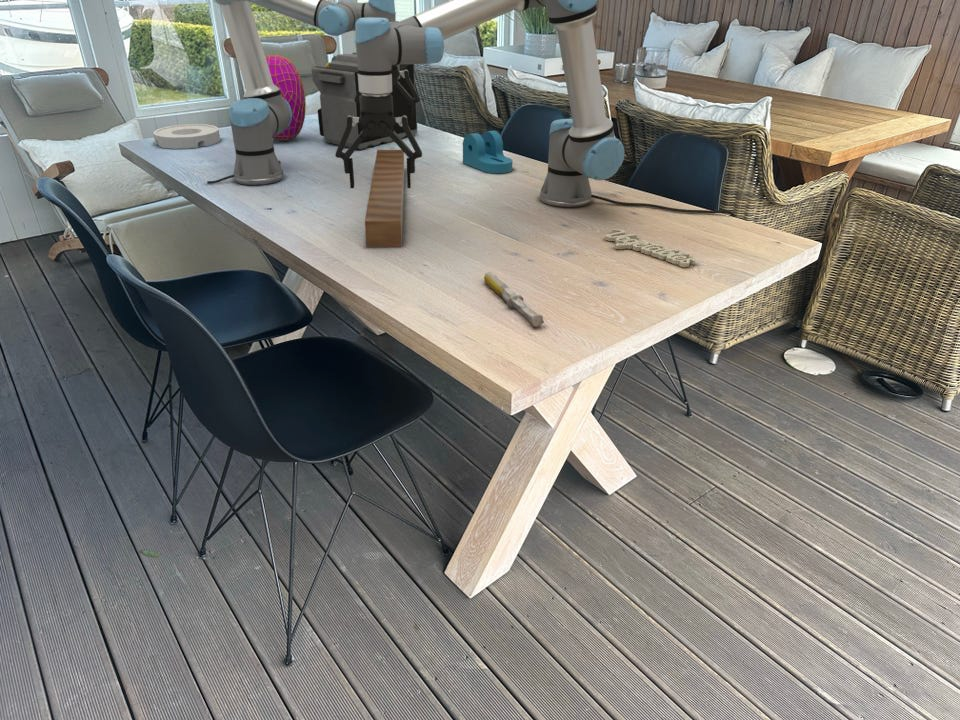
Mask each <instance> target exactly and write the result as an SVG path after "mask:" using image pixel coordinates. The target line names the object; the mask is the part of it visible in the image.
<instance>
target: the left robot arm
mask: <svg viewBox="0 0 960 720" xmlns="http://www.w3.org/2000/svg"><path fill="white" fill-rule="evenodd" d="M212 1H213V2H215V3H216V4H217V5H218V6H220V10H221V12H222V16H223V19H224V23H225V26H226V28H227V31H228V35H229V38H230V42H231V44H232V48H233V51H234V54H235V58H236V61H237V64H238V67H239V70H240V74H241V76H242V77H241V78H242V80H243V83H244V86H245V92H244V94H243V98H242V99H238V100H235V101H234V102H231V104H230V105H229V107H228V113H229V114H228V118H229V122H230V127H231V134H232V139H233V145H234V149H235V150H234V152H235V160H234V168H233V174H231V175H228V176H224V177H222V178H219V179H216V180H207V181H206V183H207V185H210V184H211V185H212V184H217V183H220V182H223V181H226V180H230V179H232V178H233V180H234V182H235V183H237V184H238V185H243V186H264V185H271V184H276V183H279V182H280V181H282V180H283V179H284V178H285V175H284V170H283V168H282V163H281V161H280V160H278V157H277V155H276V153H275V146H274V139H273V137H274V136H276V135H278V134H281V133H282V132H284V131H285V130H286V128H287V127H288V126H289V125H290V123H291V119H292V111H291V108H290V105H289V104H288V102H287V101H286V100H285V99H284V98H283V97H282V95H281V92H280V89H279V88H278V87H277V86H275V85H274V84H273V81H272V78H271V74H270V71H269V68H268V64H267V61H266V57H265V56H266V54H265V51H264V48H263V44H262V41H261V37H260V33H259V30H258V26H257V24H256V20H255V17H254V13H253V10H252V6H251V4H254V5H257V6H260V7H262V8H265V9H268V10H270V11H272V12H275V13H279V14H281V15H283V16H286V17H289V18H291V19H294V20H297V21H299V22H301V23H305V24H306V25H307V24H308V25H310V26H313V27H315V28H318V29H319V30H321V31H322V32H323V33H324V34H325V35H328V36H332V37H339V36H341V35H343V34H345V33H350V32H355V23H356V21H357V20H358V19H359V18H366V17H374V18H386V19H388V20H389V23H390V22H393V21H397V18H396V15H397V11H396V6H395V5H396V4H395V0H368V1H367V2H353V1H351V2H350V1H334V2H332V1H330V0H212ZM391 70H392V85H395V86H396V87H397V88H398V89H399V90H400V92H401V93H402V94H403V95H404V96H405V97H406V99H407V100H408V101H409V102H410V103H408V115H409V126H411V115H414V113H415V112H414V104H415V103H417V104H418V103H419V102H420V101H421V98H420V95H419V94H418V92H417V89H416V90H415V88H416V87H415V88H414V86H413V84H412V82H411V80H410V78H409V74H408V70H407V69H406V70H404V71H399V70H398V65H392V66H391ZM399 75H402V77H403V78H405V80H406V82H407V84H408V86H409V88H410V90H411V92H412V94H413V96H414V99H413V98H412V97H411V96H410V95H409V94H408V92H407V91H406V90H405V89H404V88H403V87H402V85H401V84H400V83H399V81H398V80H397V79H398V77H399ZM360 95H361V93H360V92H359V89H358V92H357V94H356V97H355V99H354V101H355V102H357V103H359V104H360V99H359V96H360Z"/></svg>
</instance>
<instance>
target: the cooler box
mask: <svg viewBox="0 0 960 720" xmlns="http://www.w3.org/2000/svg"><path fill="white" fill-rule="evenodd" d="M335 56H336V58H335V60H334V61H332V62H331V61H330V62H328V63H329V68H326V66H325V67H324V66H312V67H311V77H312V83H314V85H315V87H316V89H317V90H318V92H319V101H320V108H319V109H317V119H318V120H317V121H318V128H319V136H321V137H323V139H324V142H325V143H328V144H332V145H336V146H337V145H338V146H339V144H340V142H341V139H342V137H343V134H344V132H345V129H346V127H347V117H348V116H349V115H352V116H353V117H360V104H359V103H357V102H355V101H354V99H355V97H356V94H357V92H358V89H359V85H358V65H357V52H352V53H341V54H336V55H335ZM406 69H407V70H408V74H409V78H410V80H411V82H412V84H413V86H414V88H415V90H416V91H417V88H416V73H415V70H416V69H415V64H399V65H398V70H399V71H404V70H406ZM397 80H398V81H399V83H400V84H401V85H402V87H403V88H404V89H405V90H406V91H407V92H408V94H409V95H410V96H411V97H412V98H413V99H414V96H413V94H412V92H411V90H410V88H409V86H408V84H407V82H406V80H405V78H403V77H402V75H399V77H398V79H397ZM361 94H362V93H361ZM390 94H391V95H392V96H393V114H394V116H395V117H402V116H403V115H406V116H407V121H408V126H409V115H408V103H410V102H409V101H408V100H407V99H406V97H405V96H404V95H403V94H402V93H401V92H400V90H399V89H398V88H397V87H396V86H395V85H392V92H391V93H390ZM417 107H418V102H417V103H415V104H414V112H415V113H414V115H411V126H409V128H410V130H411V132H412V134H413V135H414V136H415V135H416V134H417V133H418V108H417ZM362 130H363V127H362V126H361V125H360V123H359V122H358V123H356V125H355V126H354V127H353V126H352V129H351V132H350V134H349V137H348V139H347V141H346V144H345V146H344V147H347V148H349V147H350V146H351V145H352V143H353V142H354V141H355V139H356V138H357V137H358V136H359V134H360V133H361V131H362ZM393 130H394V131H395V132H396V134H397V135H398V136H399V137H400V138H401V139H402V140H403V139H404V138H405V137H407V135H406V133H405V132H404V129H403V127H401V126H399V124H398V123H397V122H396V123H395V125H394V126H393ZM393 141H394V140H393V139H391V138H390V136H389V135H387V136H385V137H380V136H376V137H371V136H369V135H368V134H367V136H366V137H365V138H364V139H363V141H362V142H361V143H360V145H359V146H358V147H357V148H356V150H365V149H367V148H368V147H370V146H371V147H376V146H379V145H380V144H381V143H384V144H387V143H391V142H393Z"/></svg>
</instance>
